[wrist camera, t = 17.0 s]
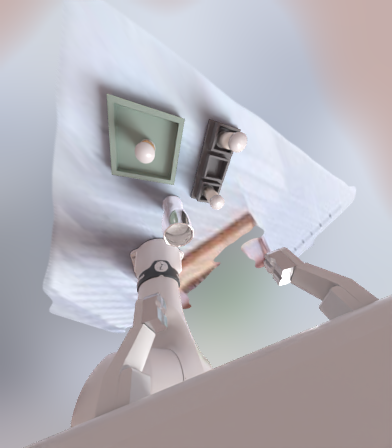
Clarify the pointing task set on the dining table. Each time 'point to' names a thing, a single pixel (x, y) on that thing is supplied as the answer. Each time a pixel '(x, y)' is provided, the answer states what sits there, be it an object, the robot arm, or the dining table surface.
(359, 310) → the robot arm
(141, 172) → the parts tray
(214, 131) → the fuse block
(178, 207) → the beer glass
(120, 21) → the dining table surface
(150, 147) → the cylinder
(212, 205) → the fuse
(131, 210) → the dining table surface
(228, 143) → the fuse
